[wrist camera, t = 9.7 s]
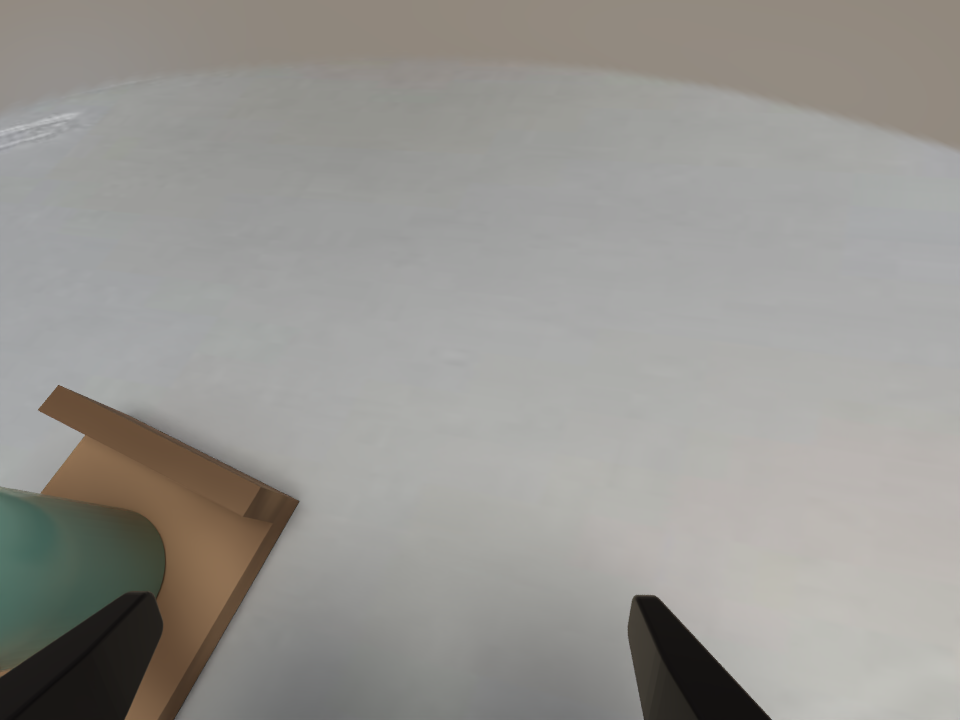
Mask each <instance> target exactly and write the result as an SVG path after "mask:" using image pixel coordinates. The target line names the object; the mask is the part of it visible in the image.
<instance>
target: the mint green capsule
mask: <svg viewBox="0 0 960 720" xmlns="http://www.w3.org/2000/svg"><path fill="white" fill-rule="evenodd" d="M164 570H165V552H164V547H163V542H162V540H161V537H160V535H159V533H158V531H157V529H156V528H155V526H154V525H153V524H152V523H151V522H150V521H149V520H148V519H147V518H146V517H144V516H143V515H141V514H139V513H137V512H135V511H132V510H128V509H124V508H118V507H113V506H107V505H101V504H96V503H90V502H84V501H79V500H73V499H67V498H62V497H56V496H50V495H45V494H39V493H33V492H28V491H22V490H16V489H11V488H5V487H0V672H3V671H8V670H12V669H13V668H15V667H16V666H18V665H19V664H21V663H22V662H23V661H25V660H26V659H28V658H29V657H31V656H32V655H34V654H35V653H37V652H38V651H40V650H41V649H43V648H44V647H46V646H47V645H49V644H50V643H52V642H53V641H55V640H56V639H58V638H59V637H61V636H62V635H64V634H65V633H66V632H68V631H69V630H71V629H72V628H74V627H75V626H77V625H78V624H80V623H81V622H83V621H84V620H86V619H87V618H89V617H90V616H92V615H93V614H95V613H96V612H98V611H99V610H101V609H102V608H104V607H105V606H107V605H108V604H109V603H111V602H112V601H114V600H115V599H117V598H118V597H120V596H121V595H123V594H125V593H127V592H130V591H150V592H152V593H153V594H154V596H155V598H156V597H157V595H158V592H159V590H160V587H161V583H162V580H163V575H164Z"/></svg>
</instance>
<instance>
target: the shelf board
mask: <svg viewBox="0 0 960 720" xmlns="http://www.w3.org/2000/svg"><path fill="white" fill-rule="evenodd" d="M38 411H40V412H42V413H44V414H46V415H48V416H50V417H52V418H54V419H56V420H58V421H60V422H62V423H63V424H65V425H67V426H69V427H71V428H73V429H75V430H77V431H79V432H81V433H83V434H85V436H84V438H83V439H82V440H81V441H80V443H79V444H78V445H77V447H76V448H75V449H74V451H73V452H72V453H71V454H70V456H69V457H68V458H67V460H66V461H65V462H64V463H63V465H62V466H61V467H60V469H59V470H58V471H57V473H56V474H55V475H54V476H53V478H52V479H51V480H50V482H49V483H48V484H47V485H46V487H45V488H44V489H43V491H42V492H41V493H40V494H45V495H50V496H56V497H62V498H67V499H73V500H79V501H84V502H90V503H96V504H101V505H107V506H113V507H118V508H124V509H128V510H132V511H135V512H137V513H139V514H141V515H143V516H144V517H146V518H147V519H148V520H149V521H150V522H151V523H152V524H153V525H154V526H155V528H156V529H157V531H158V533H159V535H160V537H161V540H162V542H163V547H164V552H165V570H164V575H163V580H162V583H161V587H160V590H159V592H158V595H157V597H156V601H157V604H158V607H159V610H160V613H161V616H162V619H163V632H162V635H161V638H160V640H159V643H158V645H157V647H156V650H155V652H154V654H153V656H152V659H151V661H150V663H149V666H148V668H147V670H146V672H145V675H144V677H143V679H142V682H141V684H140V686H139V689H138V691H137V693H136V695H135V698H134V700H133V702H132V705H131V707H130V709H129V711H128V713H127V716H126V718H125V720H174V718H175V716H176V714H177V713H178V711H179V709H180V707H181V706H182V704H183V702H184V700H185V699H186V697H187V695H188V693H189V692H190V690H191V688H192V687H193V685H194V683H195V681H196V680H197V678H198V676H199V674H200V673H201V671H202V669H203V667H204V666H205V664H206V662H207V661H208V659H209V657H210V655H211V654H212V652H213V650H214V648H215V647H216V645H217V643H218V641H219V640H220V638H221V636H222V634H223V633H224V631H225V629H226V628H227V626H228V624H229V622H230V621H231V619H232V617H233V615H234V614H235V612H236V610H237V608H238V607H239V605H240V603H241V601H242V600H243V598H244V596H245V595H246V593H247V591H248V589H249V588H250V586H251V584H252V582H253V581H254V579H255V577H256V575H257V574H258V572H259V570H260V569H261V567H262V565H263V563H264V562H265V560H266V558H267V556H268V555H269V553H270V551H271V549H272V548H273V546H274V544H275V542H276V541H277V539H278V537H279V536H280V534H281V532H282V530H283V529H284V527H285V525H286V523H287V522H288V520H289V518H290V516H291V515H292V513H293V511H294V510H295V508H296V506H297V504H298V503H299V501H298V500H296V499H294V498H292V497H290V496H288V495H286V494H284V493H282V492H280V491H278V490H276V489H274V488H272V487H270V486H268V485H266V484H264V483H262V482H260V481H258V480H256V479H254V478H252V477H250V476H248V475H246V474H244V473H242V472H240V471H238V470H236V469H234V468H232V467H230V466H228V465H226V464H224V463H222V462H220V461H218V460H216V459H214V458H212V457H210V456H208V455H206V454H204V453H202V452H200V451H198V450H196V449H194V448H192V447H190V446H188V445H186V444H184V443H182V442H181V441H179V440H177V439H175V438H173V437H171V436H169V435H167V434H165V433H163V432H161V431H159V430H157V429H155V428H153V427H151V426H149V425H147V424H145V423H143V422H141V421H139V420H137V419H135V418H133V417H131V416H129V415H127V414H124V413H122V412H120V411H117V410H115V409H113V408H110V407H108V406H106V405H104V404H101V403H99V402H97V401H94V400H92V399H90V398H87V397H85V396H83V395H81V394H78V393H76V392H74V391H71V390H69V389H67V388H64V387H62V386H60V385H58V386H57V387H56V389H55V390H54V391H53V392H52V393H51V395H50V396H49V397H48V398H47V400H46V401H45V402H44V403H43V404H42V406H41V407H40V408H39V409H38ZM9 671H10V670H8V671H3V672H0V677H1V676H3V675H4V674H6V673H7V672H9Z"/></svg>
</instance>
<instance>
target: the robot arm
mask: <svg viewBox="0 0 960 720" xmlns="http://www.w3.org/2000/svg"><path fill="white" fill-rule="evenodd" d="M162 632H163V619H162V616H161V613H160V610H159V607H158V604H157V601H156V598H155V596H154V594H153V593H152V592H150V591H130V592H127V593H125V594H123V595H121V596H120V597H118V598H117V599H115V600H114V601H112V602H111V603H109V604H108V605H107V606H105V607H104V608H102V609H101V610H99V611H98V612H96V613H95V614H93V615H92V616H90V617H89V618H87V619H86V620H84V621H83V622H81V623H80V624H78V625H77V626H75V627H74V628H72V629H71V630H69V631H68V632H66V633H65V634H64V635H62V636H61V637H59V638H58V639H56V640H55V641H53V642H52V643H50V644H49V645H47V646H46V647H44V648H43V649H41V650H40V651H38V652H37V653H35V654H34V655H32V656H31V657H29V658H28V659H26V660H25V661H23V662H22V663H21V664H19V665H18V666H16V667H15V668H13V669H12V670H10V671H9V672H7V673H6V674H4V675H3V676H1V677H0V720H125V718H126V716H127V713H128V711H129V709H130V707H131V705H132V702H133V700H134V698H135V695H136V693H137V691H138V689H139V686H140V684H141V682H142V679H143V677H144V675H145V672H146V670H147V668H148V666H149V663H150V661H151V659H152V656H153V654H154V652H155V650H156V647H157V645H158V643H159V640H160V638H161V635H162ZM628 639H629V645H630V650H631V655H632V660H633V665H634V670H635V675H636V681H637V686H638V691H639V696H640V701H641V706H642V711H643V716H644V720H772V719H771V718H770V717H769V716H768V715H767V714H766V713H765V712H764V711H763V709H762V708H761V707H760V706H759V705H758V704H757V703H756V702H755V701H754V700H753V699H752V698H751V697H750V696H749V694H748V693H747V692H746V691H745V690H744V689H743V688H742V687H741V686H740V685H739V684H738V683H737V682H736V680H735V679H734V678H733V677H732V676H731V675H730V674H729V673H728V672H727V671H726V670H725V669H724V668H723V667H722V665H721V664H720V663H719V662H718V661H717V660H716V659H715V658H714V657H713V656H712V655H711V654H710V653H709V652H708V650H707V649H706V648H705V647H704V646H703V645H702V644H701V643H700V642H699V641H698V640H697V639H696V638H695V636H694V635H693V634H692V633H691V632H690V631H689V630H688V629H687V628H686V627H685V626H684V625H683V624H682V623H681V621H680V620H679V619H678V618H677V617H676V616H675V615H674V614H673V613H672V612H671V611H670V610H669V609H668V608H667V606H666V605H665V604H664V603H663V602H662V601H661V600H660V599H659V598H658V597H656V596H654V595H635V596H634V597H633V599H632V603H631V609H630V616H629V622H628Z"/></svg>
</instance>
